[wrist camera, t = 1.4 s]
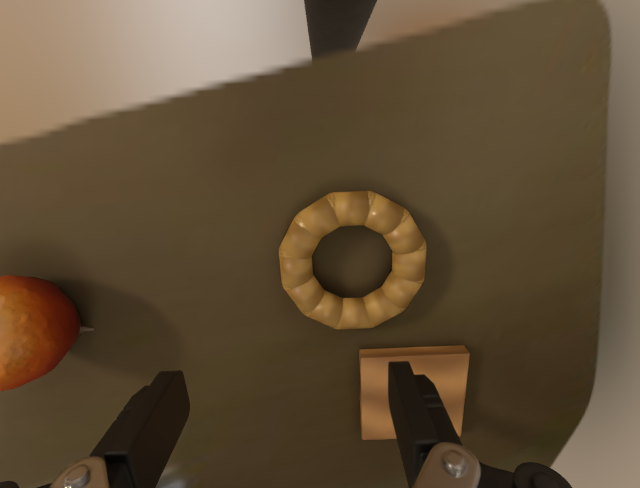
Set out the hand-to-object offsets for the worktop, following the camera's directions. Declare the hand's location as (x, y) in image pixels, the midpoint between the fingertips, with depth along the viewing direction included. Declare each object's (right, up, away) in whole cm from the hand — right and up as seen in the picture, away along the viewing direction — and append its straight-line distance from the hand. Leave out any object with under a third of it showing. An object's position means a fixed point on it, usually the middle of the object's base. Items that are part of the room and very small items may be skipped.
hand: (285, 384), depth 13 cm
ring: (+4, +4, +12) cm, 13 cm away
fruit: (-21, 0, +15) cm, 26 cm away
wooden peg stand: (+9, -8, +17) cm, 21 cm away
